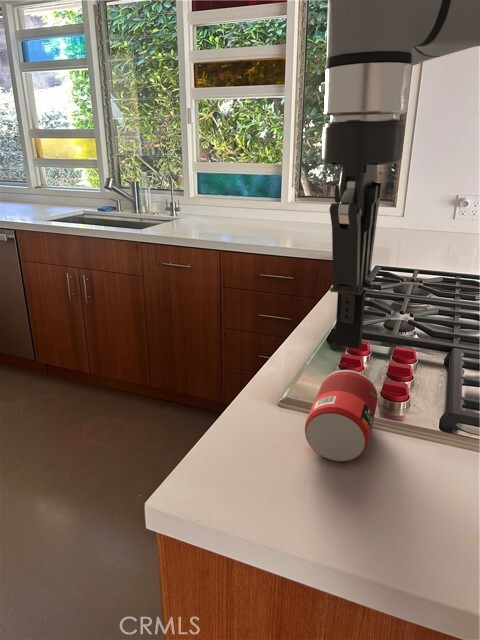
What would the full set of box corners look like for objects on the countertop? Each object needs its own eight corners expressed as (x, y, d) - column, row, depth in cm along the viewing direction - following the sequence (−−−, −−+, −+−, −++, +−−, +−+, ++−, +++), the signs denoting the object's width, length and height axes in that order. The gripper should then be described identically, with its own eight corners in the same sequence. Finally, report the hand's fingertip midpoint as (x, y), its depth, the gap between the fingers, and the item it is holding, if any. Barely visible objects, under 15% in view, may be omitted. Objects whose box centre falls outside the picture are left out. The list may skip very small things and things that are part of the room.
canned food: (376, 424, 54) (384, 380, 63) (310, 401, 56) (328, 361, 66) (358, 473, 57) (369, 423, 67) (297, 449, 59) (316, 404, 69)
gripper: (341, 120, 51) (330, 319, 60) (304, 120, 40) (298, 363, 49) (413, 118, 48) (391, 327, 57) (394, 117, 37) (370, 377, 46)
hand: (348, 344), depth 53 cm, fingers closed
